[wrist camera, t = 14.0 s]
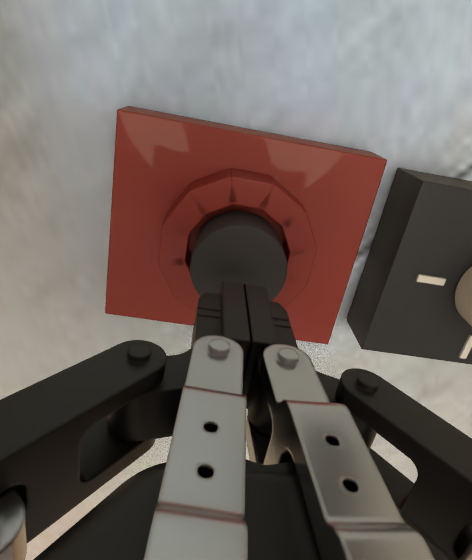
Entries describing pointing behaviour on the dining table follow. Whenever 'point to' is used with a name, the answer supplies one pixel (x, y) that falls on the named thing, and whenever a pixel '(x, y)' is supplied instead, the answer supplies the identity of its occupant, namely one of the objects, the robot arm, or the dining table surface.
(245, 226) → the button
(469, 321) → the knob
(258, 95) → the dining table surface
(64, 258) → the dining table surface
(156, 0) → the dining table surface
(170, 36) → the dining table surface
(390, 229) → the control panel
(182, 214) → the button housing
